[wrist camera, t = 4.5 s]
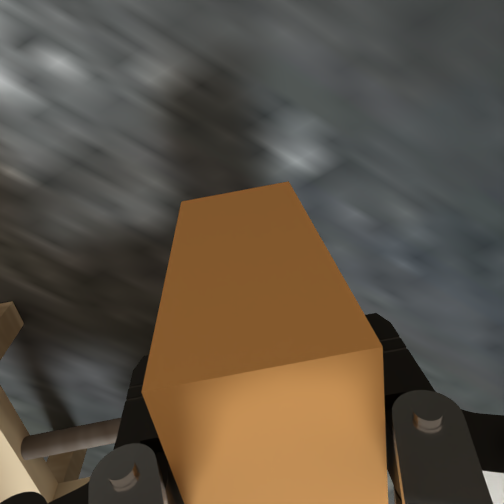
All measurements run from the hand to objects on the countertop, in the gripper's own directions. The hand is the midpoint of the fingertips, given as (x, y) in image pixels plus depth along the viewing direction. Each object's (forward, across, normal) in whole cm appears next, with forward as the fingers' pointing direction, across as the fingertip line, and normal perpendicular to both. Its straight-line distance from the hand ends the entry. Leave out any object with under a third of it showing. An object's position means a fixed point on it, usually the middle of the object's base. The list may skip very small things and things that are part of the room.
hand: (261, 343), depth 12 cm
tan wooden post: (+5, 0, 0) cm, 5 cm away
